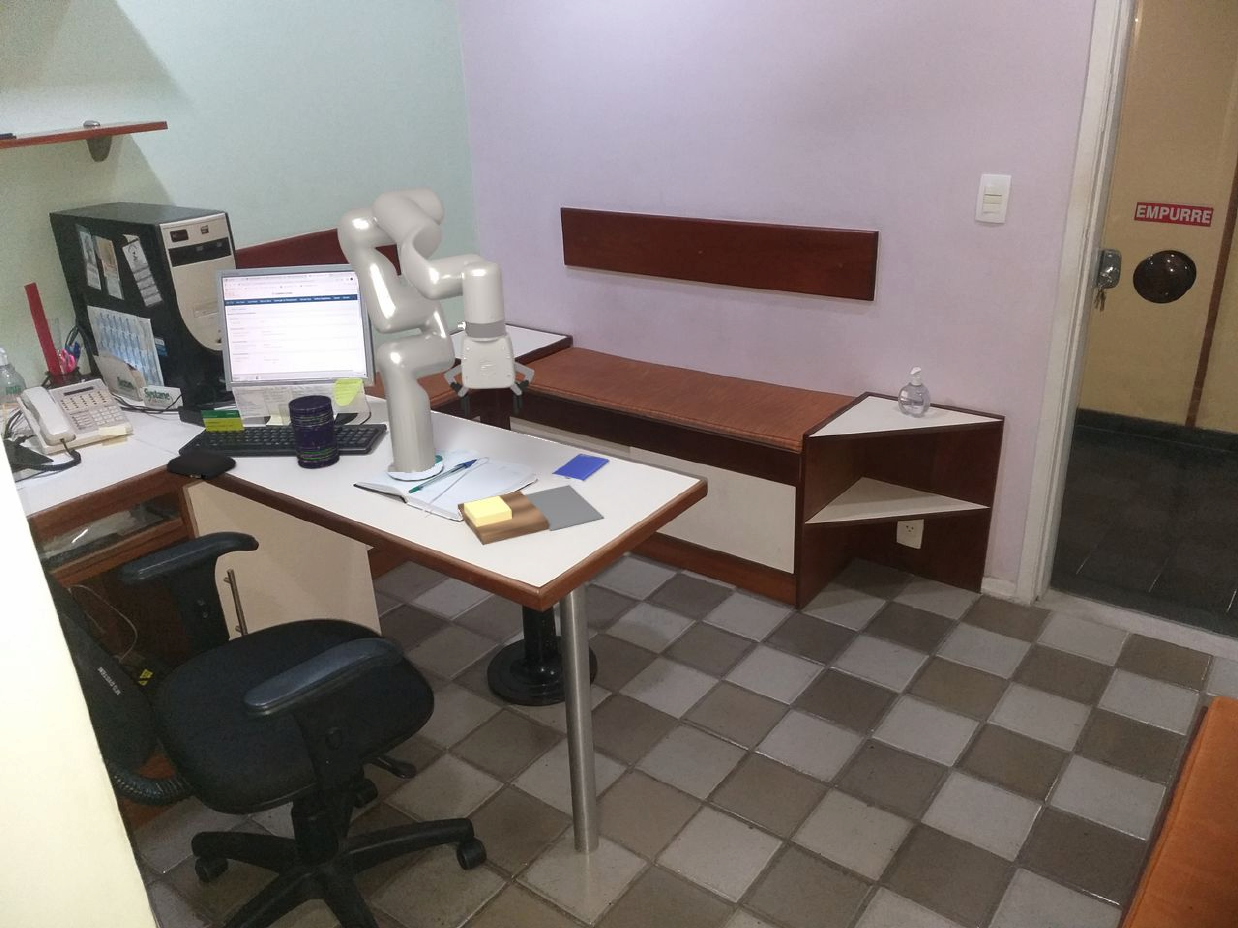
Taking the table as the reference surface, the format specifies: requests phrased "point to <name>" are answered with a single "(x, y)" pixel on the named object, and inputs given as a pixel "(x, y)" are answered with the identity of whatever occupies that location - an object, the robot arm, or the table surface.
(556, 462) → the table surface
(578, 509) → the mat
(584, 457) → the hard drive
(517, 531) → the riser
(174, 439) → the table surface
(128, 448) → the table surface
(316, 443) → the storage jar
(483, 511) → the sticky pad
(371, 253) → the robot arm
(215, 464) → the carrying case or bag
